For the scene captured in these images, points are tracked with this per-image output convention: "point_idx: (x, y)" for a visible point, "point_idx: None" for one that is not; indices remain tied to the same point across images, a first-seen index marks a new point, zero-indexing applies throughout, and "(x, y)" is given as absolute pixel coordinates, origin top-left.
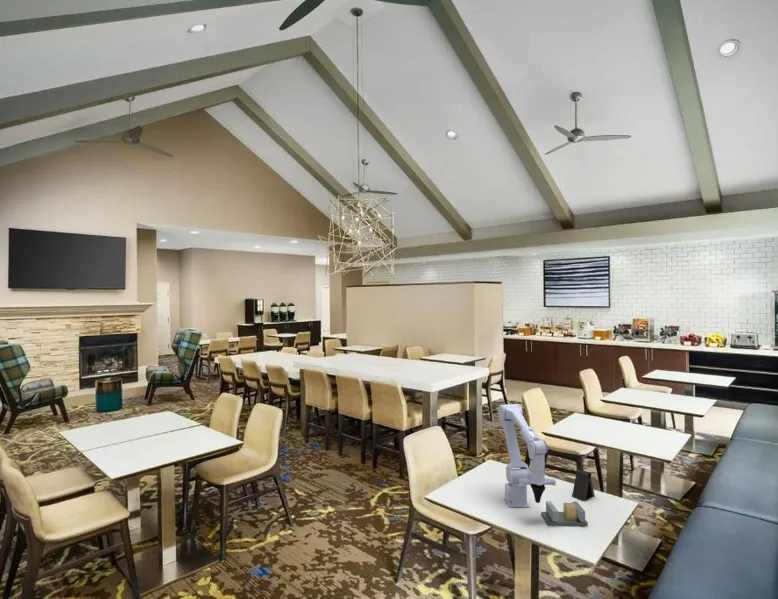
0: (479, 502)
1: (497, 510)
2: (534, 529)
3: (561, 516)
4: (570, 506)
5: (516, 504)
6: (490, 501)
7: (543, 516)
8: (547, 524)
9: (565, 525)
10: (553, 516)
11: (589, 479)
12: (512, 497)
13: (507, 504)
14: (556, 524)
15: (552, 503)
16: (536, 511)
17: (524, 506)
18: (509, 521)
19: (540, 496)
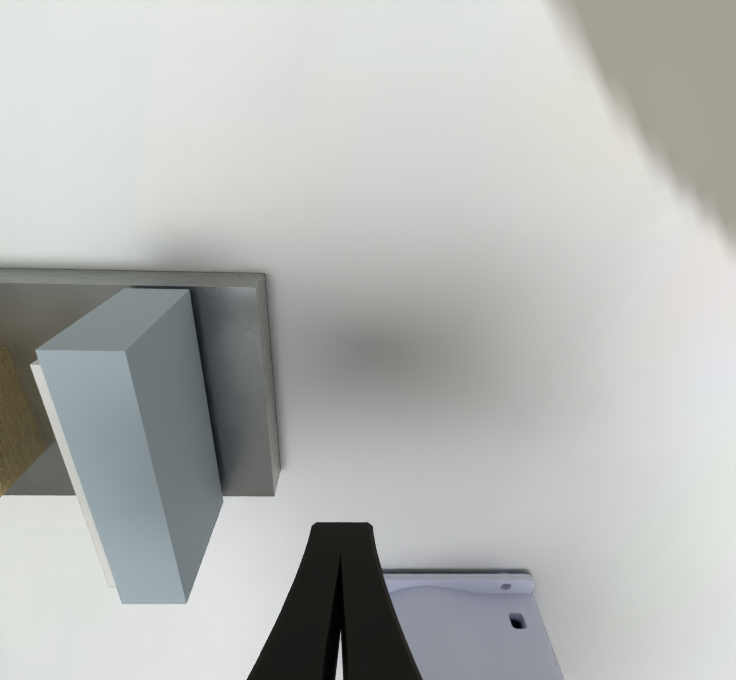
0: (723, 623)
1: (650, 529)
2: (452, 186)
3: None
4: None
5: (461, 598)
6: (628, 635)
7: (271, 426)
8: (264, 292)
9: (55, 270)
10: (155, 315)
11: None
12: (514, 668)
13: (532, 600)
14: (158, 275)
15: (106, 562)
16: (307, 522)
17: (395, 579)
18: (650, 357)
19: (286, 643)
